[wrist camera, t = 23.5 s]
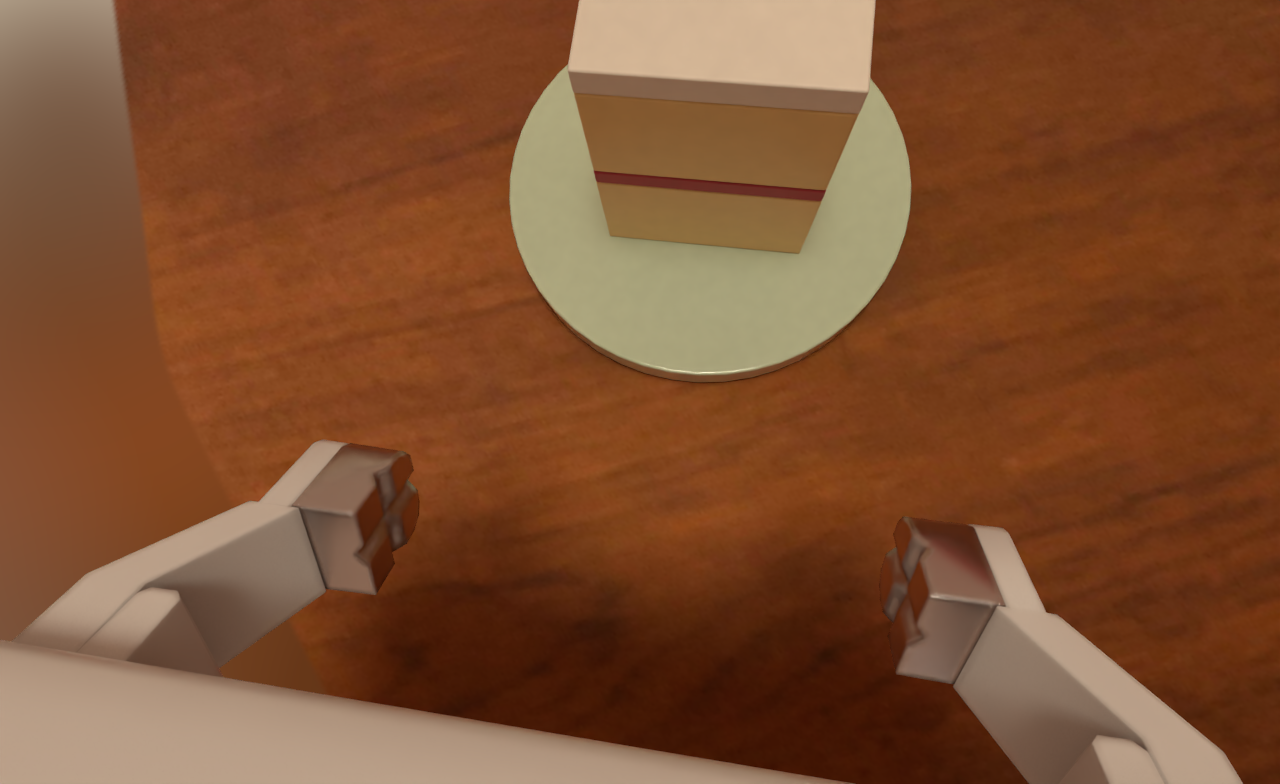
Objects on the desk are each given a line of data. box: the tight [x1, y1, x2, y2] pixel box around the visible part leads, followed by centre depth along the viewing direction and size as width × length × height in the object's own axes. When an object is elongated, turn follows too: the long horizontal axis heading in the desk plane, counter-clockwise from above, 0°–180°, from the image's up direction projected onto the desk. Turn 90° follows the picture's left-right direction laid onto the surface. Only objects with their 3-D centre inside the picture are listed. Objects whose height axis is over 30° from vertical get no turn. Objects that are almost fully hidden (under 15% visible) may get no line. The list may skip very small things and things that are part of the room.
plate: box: [509, 65, 911, 382], centre depth 23 cm, size 14×14×1 cm
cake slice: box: [567, 0, 876, 254], centre depth 18 cm, size 5×6×8 cm
